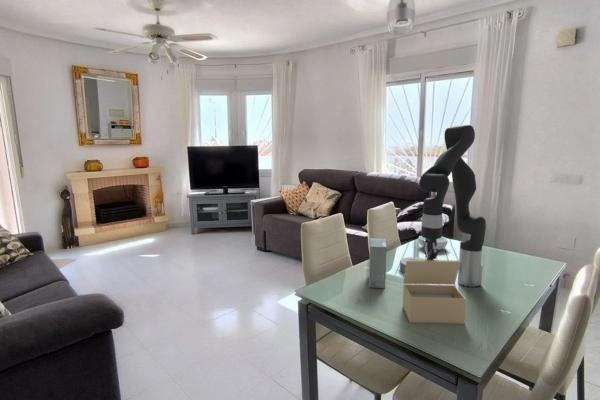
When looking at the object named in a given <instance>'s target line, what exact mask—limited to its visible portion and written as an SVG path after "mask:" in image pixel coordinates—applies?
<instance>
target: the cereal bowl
mask: <svg viewBox="0 0 600 400" xmlns="http://www.w3.org/2000/svg"><path fill="white" fill-rule="evenodd" d="M425 240H426V238H424V237H422V236H421V235H419V236H418V243H419V245H420V246H421V247H422V248H424V243H423V241H425ZM436 242H437V248H436V249H438V250H440V251H441V250H443V249H445V248H446V247H447V245H448V239H447V238H446V237H444V236H442V237H441V238H439V239H437V240H436Z"/></svg>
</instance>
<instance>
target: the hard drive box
mask: <svg viewBox="0 0 600 400" xmlns="http://www.w3.org/2000/svg"><path fill="white" fill-rule="evenodd" d="M368 267H369V268H368V287H369V288H377V289H386V279H387V270H386V269H387V242H386V238H373V237H371V238H369V265H368Z"/></svg>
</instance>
